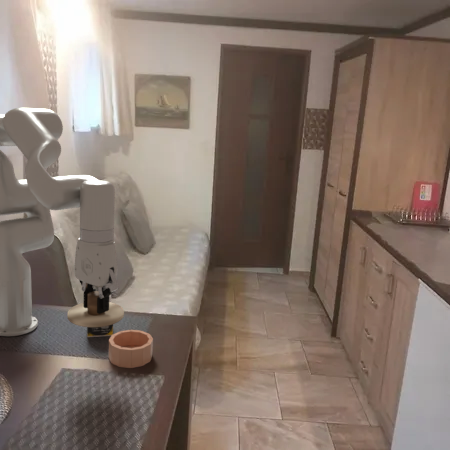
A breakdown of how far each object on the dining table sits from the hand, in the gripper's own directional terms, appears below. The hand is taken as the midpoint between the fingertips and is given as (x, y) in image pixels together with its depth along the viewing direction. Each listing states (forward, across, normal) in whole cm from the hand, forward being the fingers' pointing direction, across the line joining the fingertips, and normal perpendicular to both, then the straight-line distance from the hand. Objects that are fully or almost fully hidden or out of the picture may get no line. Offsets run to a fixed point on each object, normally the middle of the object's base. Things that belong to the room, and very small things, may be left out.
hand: (96, 308), depth 114 cm
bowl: (+17, 0, +11) cm, 21 cm away
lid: (+2, 0, 0) cm, 2 cm away
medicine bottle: (+17, -17, +16) cm, 29 cm away
